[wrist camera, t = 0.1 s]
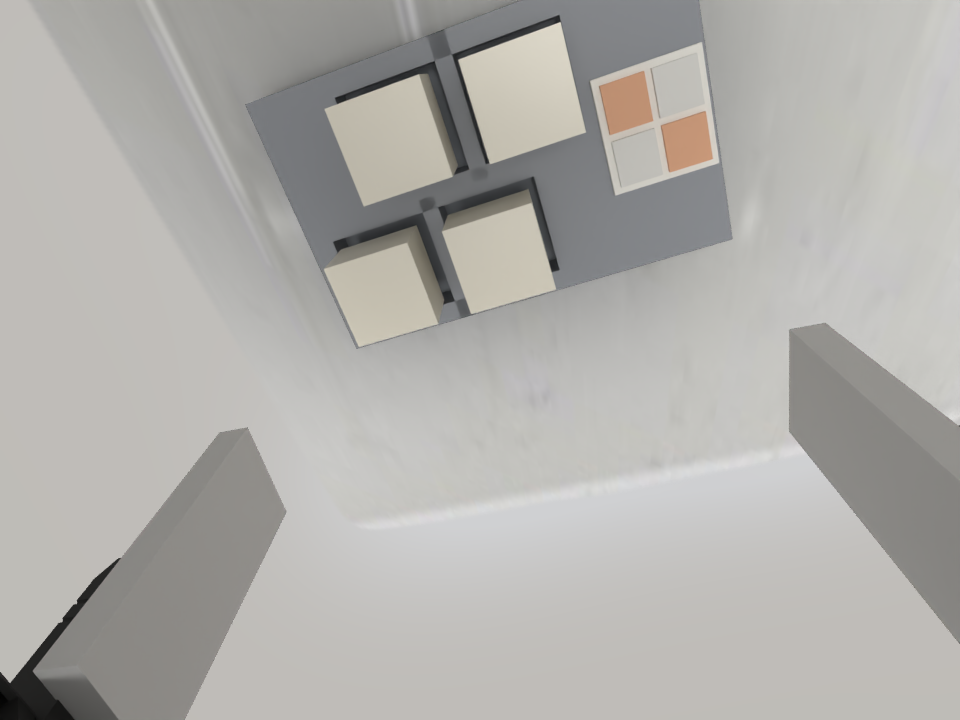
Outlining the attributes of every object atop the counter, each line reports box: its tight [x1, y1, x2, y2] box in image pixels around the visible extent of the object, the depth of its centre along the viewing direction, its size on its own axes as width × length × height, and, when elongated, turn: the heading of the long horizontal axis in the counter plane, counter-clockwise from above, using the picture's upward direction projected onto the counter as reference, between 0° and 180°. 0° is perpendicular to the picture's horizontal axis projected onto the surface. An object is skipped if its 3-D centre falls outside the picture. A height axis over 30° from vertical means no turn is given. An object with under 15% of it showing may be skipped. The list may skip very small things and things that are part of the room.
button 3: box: [442, 189, 556, 314], centre depth 34 cm, size 5×5×4 cm
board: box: [245, 0, 732, 349], centre depth 36 cm, size 16×25×5 cm, turn 108°
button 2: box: [325, 74, 458, 206], centre depth 32 cm, size 5×5×4 cm
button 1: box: [324, 225, 444, 347], centre depth 35 cm, size 5×5×4 cm
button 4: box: [458, 22, 586, 164], centre depth 30 cm, size 5×5×4 cm
